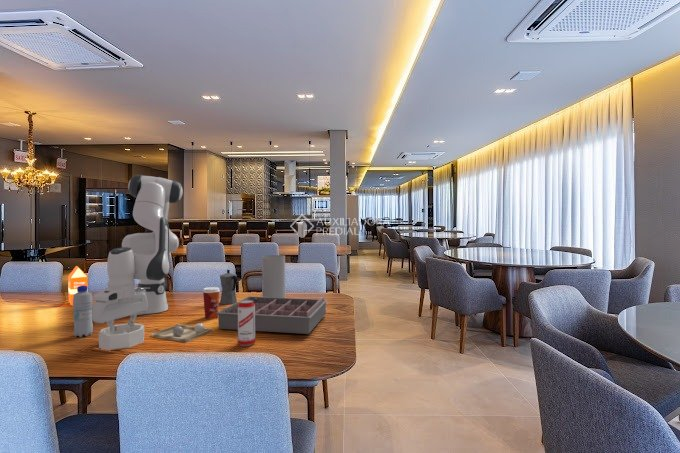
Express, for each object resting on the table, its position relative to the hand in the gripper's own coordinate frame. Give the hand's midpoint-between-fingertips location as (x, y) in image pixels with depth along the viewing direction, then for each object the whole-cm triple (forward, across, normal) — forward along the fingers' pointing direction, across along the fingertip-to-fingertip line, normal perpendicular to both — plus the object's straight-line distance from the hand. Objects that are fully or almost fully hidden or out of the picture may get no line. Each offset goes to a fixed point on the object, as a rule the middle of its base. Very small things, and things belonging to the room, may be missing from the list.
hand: (122, 328), depth 139 cm
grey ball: (+5, -13, +14) cm, 20 cm away
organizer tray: (+6, -44, +39) cm, 59 cm away
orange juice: (+6, -37, -81) cm, 89 cm away
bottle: (+6, -1, -23) cm, 24 cm away
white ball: (+5, -19, +19) cm, 27 cm away
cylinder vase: (+6, -81, +15) cm, 83 cm away
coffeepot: (+6, -68, -5) cm, 68 cm away
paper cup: (+6, -40, +7) cm, 41 cm away
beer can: (+6, -17, +43) cm, 47 cm away
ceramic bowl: (+6, 0, 0) cm, 6 cm away
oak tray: (+6, -16, +13) cm, 21 cm away
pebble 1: (+5, 0, 0) cm, 5 cm away
